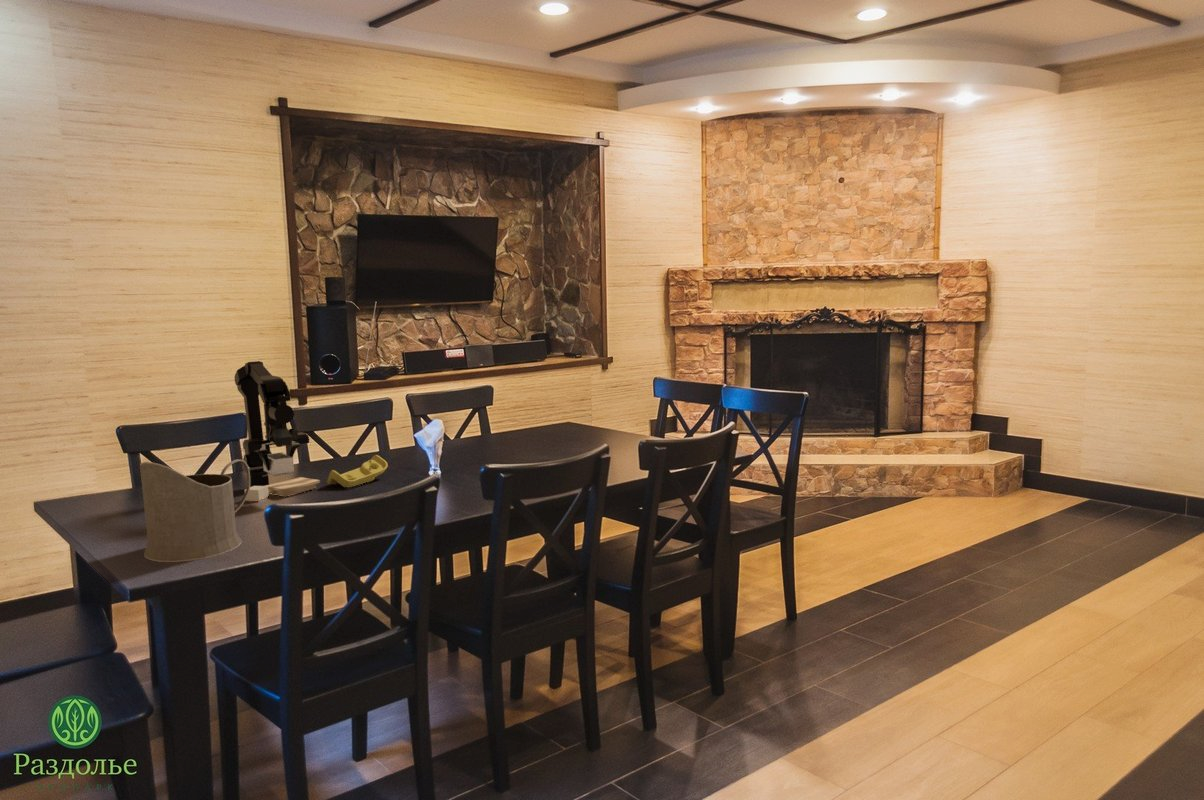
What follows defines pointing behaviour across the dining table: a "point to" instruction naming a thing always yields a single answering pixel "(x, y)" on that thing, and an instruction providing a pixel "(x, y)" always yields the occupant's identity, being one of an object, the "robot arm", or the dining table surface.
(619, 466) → the dining table surface
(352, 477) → the plastic component
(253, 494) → the parts box
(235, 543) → the pitcher
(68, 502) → the dining table surface
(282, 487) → the stand
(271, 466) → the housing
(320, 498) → the dining table surface
